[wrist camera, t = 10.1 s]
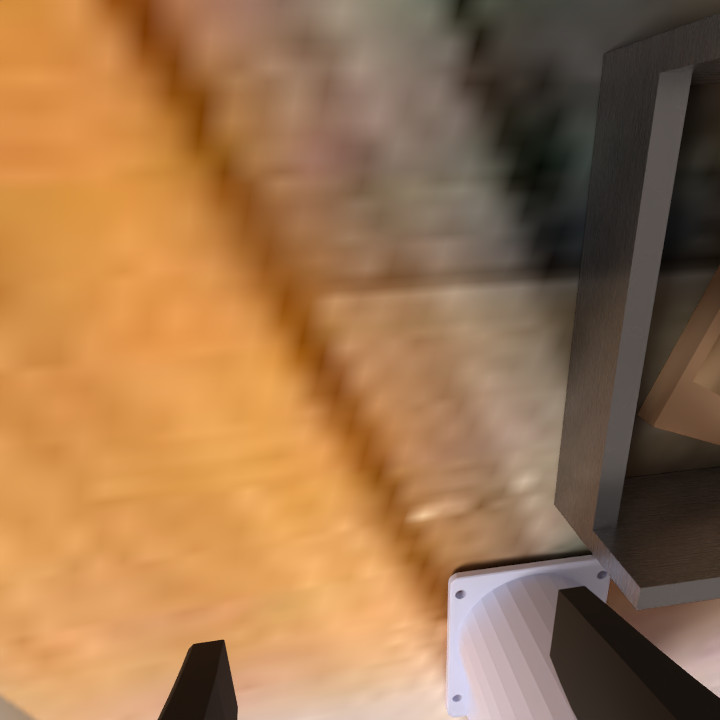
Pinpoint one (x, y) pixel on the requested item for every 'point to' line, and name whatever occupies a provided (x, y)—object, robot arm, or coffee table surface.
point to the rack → (635, 332)
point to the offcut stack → (691, 376)
